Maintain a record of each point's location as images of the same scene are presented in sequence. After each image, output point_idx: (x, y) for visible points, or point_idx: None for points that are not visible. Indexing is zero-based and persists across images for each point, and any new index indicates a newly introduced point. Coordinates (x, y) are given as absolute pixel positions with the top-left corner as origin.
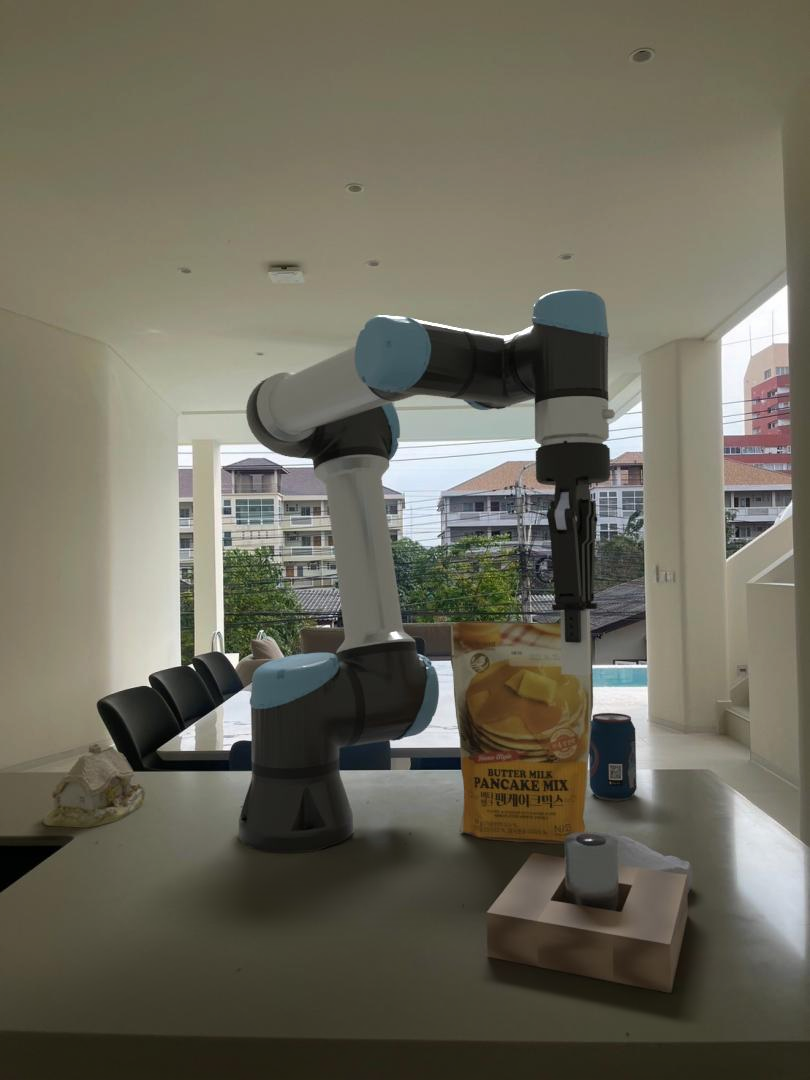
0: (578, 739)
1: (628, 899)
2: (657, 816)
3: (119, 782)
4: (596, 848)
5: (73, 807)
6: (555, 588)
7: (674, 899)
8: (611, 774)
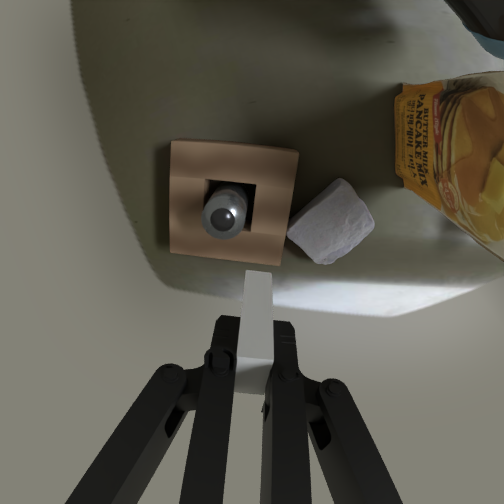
0: (453, 212)
1: None
2: (449, 241)
3: None
4: (205, 224)
5: None
6: (140, 394)
7: (233, 257)
8: None
